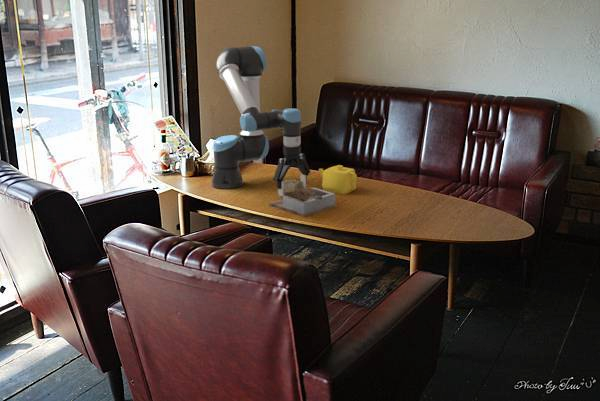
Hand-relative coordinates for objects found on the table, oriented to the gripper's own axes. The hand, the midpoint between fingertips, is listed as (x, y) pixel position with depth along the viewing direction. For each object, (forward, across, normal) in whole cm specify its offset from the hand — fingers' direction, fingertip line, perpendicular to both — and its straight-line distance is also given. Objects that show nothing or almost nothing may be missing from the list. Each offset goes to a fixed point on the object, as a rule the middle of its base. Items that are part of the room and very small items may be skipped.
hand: (292, 192), depth 283 cm
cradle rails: (+4, 0, -11) cm, 11 cm away
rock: (+4, 0, 0) cm, 4 cm away
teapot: (+5, +30, 0) cm, 30 cm away
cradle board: (+5, 0, -6) cm, 8 cm away
